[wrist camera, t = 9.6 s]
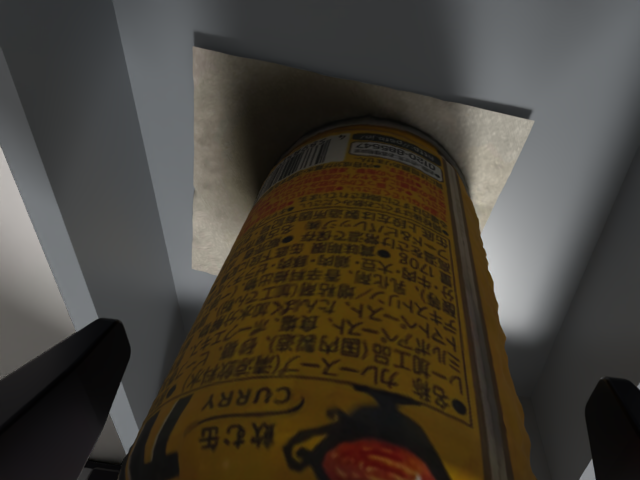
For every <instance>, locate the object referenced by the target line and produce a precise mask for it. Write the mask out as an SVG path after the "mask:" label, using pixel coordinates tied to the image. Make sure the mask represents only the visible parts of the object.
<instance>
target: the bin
mask: <svg viewBox="0 0 640 480" xmlns="http://www.w3.org/2000/svg"><path fill="white" fill-rule="evenodd" d="M193 46H194V47H198V48H203V49H207V50H212V51H216V52H221V53H224V54H228V55H232V56H237V57H243V58H249V59H256V60H261V61H266V62H273V63H276V64H280V65H284V66H288V67H292V68H297V69H301V70H306V71H311V72H315V73H318V74H321V75H324V76H329V77H334V78H340V79H346V80H354V81H359V82H362V83H366V84H372V85H377V86H383V87H388V88H392V89H395V90H398V91H406V92H411V93H415V94H420V95H424V96H429V97H433V98H436V99H439V100H443V101H448V102H455V103H460V104H464V105H469V106H473V107H477V108H481V109H485V110H489V111H494V112H498V113H502V114H506V115H510V116H515V117H519V118H524V119H528V120H533V121H535V122H534V124H533V126H532V128H531V131H530V133H529V135H528V137H527V140H526V142H525V144H524V146H523V148H522V150H521V152H520V155H519V157H518V159H517V161H516V163H515V165H514V167H513V169H512V172H511V174H510V176H509V177H508V179H507V181H506V184H505V185H504V187H503V189H502V191H501V193H500V194H499V196H498V199H497V201H496V203H495V205H494V207H493V209H492V211H491V213H490V216H489V218H488V220H487V222H486V224H485V226H484V228H483V231H482V233H481V239H482V241H483V248H484V249H485V251H486V254H487V256H486V258H487V260H488V263H489V265H488V271H489V272H490V274H491V276H492V279H493V281H494V293H495V296H496V300H497V302H498V305H499V307H498V315H499V322H500V325H501V327H502V329H503V331H504V334H505V336H506V341H505V351H506V354H507V356H508V367H509V371H510V375H511V378H512V380H513V384H514V387H515V391H516V394H517V396H518V398H519V401H520V403H521V405H522V408H523V412H524V427H525V429H526V431H527V433H528V435H529V438H530V442H531V449H530V466H531V469H532V472H533V474H534V475H535V477H536V478H537V480H596V479H595V473H594V467H593V461H592V455H591V450H590V444H589V438H588V432H587V427H586V421H585V406H586V403H587V401H588V399H589V397H590V395H591V394H592V392H593V390H594V388H595V386H596V384H597V382H598V381H599V379H600V378H602V377H604V376H608V377H617V378H624V379H627V380H629V381H631V382H632V383H633V384H634V385H635V386H637V387H638V388H639V389H640V0H0V146H1V148H2V151H3V153H4V155H5V158H6V160H7V163H8V165H9V168H10V170H11V173H12V175H13V178H14V180H15V183H16V185H17V187H18V190H19V192H20V195H21V197H22V200H23V202H24V205H25V207H26V210H27V212H28V214H29V217H30V219H31V222H32V224H33V227H34V229H35V232H36V234H37V237H38V239H39V242H40V244H41V246H42V249H43V251H44V254H45V256H46V259H47V261H48V264H49V266H50V269H51V271H52V273H53V276H54V278H55V281H56V283H57V286H58V288H59V291H60V293H61V296H62V298H63V301H64V303H65V305H66V308H67V310H68V313H69V315H70V318H71V320H72V323H73V325H74V328H75V330H76V332H77V331H79V330H80V329H82V328H83V327H85V326H87V325H88V324H90V323H91V322H93V321H95V320H96V319H98V318H102V317H105V318H113V319H119V320H121V321H122V322H123V324H124V327H125V330H126V334H127V337H128V340H129V343H130V346H131V356H130V360H129V362H128V365H127V368H126V370H125V373H124V375H123V378H122V381H121V383H120V386H119V389H118V391H117V394H116V396H115V399H114V402H113V404H112V407H111V410H110V412H109V414H110V416H111V419H112V421H113V423H114V426H115V428H116V431H117V433H118V436H119V438H120V441H121V443H122V446H123V448H124V450H125V453H126V455H127V454H128V451H129V448H130V447H131V446H132V445H133V443H134V441H135V439H136V437H137V434H138V432H139V430H140V428H141V426H142V424H143V422H144V420H145V418H146V417H147V415H148V412H149V410H150V408H151V406H152V403H153V401H154V400H155V398H156V397H157V395H158V393H159V390H160V389H161V387H162V385H163V383H164V380H165V379H166V377H167V375H168V373H169V371H170V369H171V367H172V365H173V364H174V362H175V359H176V358H177V356H178V354H179V351H180V349H181V346H182V345H183V343H184V341H185V339H186V337H187V335H188V333H189V332H190V330H191V328H192V326H193V323H194V322H195V320H196V318H197V316H198V314H199V312H200V310H201V308H202V306H203V303H204V302H205V300H206V298H207V296H208V294H209V292H210V290H211V287H212V285H213V284H214V282H215V280H216V278H217V275H212V274H209V273H207V272H203V271H198V270H194V269H192V241H193V222H192V219H193V197H194V191H195V188H194V185H193V177H194V80H193Z"/></svg>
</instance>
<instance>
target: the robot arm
mask: <svg viewBox="0 0 640 480" xmlns="http://www.w3.org/2000/svg"><path fill="white" fill-rule="evenodd" d="M130 356H131V346H130V343H129V340H128V337H127V334H126V330H125V327H124V324H123V322H122V321H121V320H119V319H113V318H105V317H102V318H98V319H96V320H95V321H93V322H91V323H90V324H88V325H87V326H85V327H83V328H82V329H80V330H79V331H77V332H76V333H74V334H72V335H71V336H69V337H68V338H66V339H65V340H63V341H61V342H60V343H58V344H57V345H55V346H54V347H52V348H50V349H49V350H47V351H46V352H44V353H42V354H41V355H39V356H38V357H36V358H35V359H33V360H31V361H30V362H28V363H27V364H25V365H24V366H22V367H20V368H19V369H17V370H16V371H14V372H13V373H11V374H9V375H8V376H6V377H5V378H3V379H1V380H0V480H118V475H119V473H120V470H121V466H118V465H112V464H105V463H99V462H92V461H87V460H88V458H89V456H90V454H91V452H92V450H93V448H94V446H95V444H96V442H97V440H98V438H99V436H100V434H101V432H102V430H103V427H104V425H105V422H106V420H107V417H108V415H109V412H110V410H111V407H112V404H113V402H114V399H115V396H116V394H117V391H118V389H119V386H120V383H121V381H122V378H123V375H124V373H125V370H126V368H127V365H128V362H129V360H130ZM585 421H586V427H587V432H588V438H589V444H590V450H591V455H592V461H593V467H594V473H595V479H596V480H640V389H639V388H638V387H637V386H635V385H634V384H633V383H632V382H631V381H629V380H627V379H624V378H617V377H608V376H604V377H602V378H600V379H599V381H598V382H597V384H596V386H595V388H594V390H593V392H592V394H591V395H590V397H589V399H588V401H587V403H586V406H585Z"/></svg>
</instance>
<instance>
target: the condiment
mask: <svg viewBox="0 0 640 480" xmlns="http://www.w3.org/2000/svg"><path fill="white" fill-rule="evenodd" d="M193 80H194V177H193V185H194V188H195V191H194V197H193V219H192V222H193V241H192V269H194V270H198V271H203V272H207V273H209V274H212V275H217V278H216V280H215V282H214V284H213V285H212V287H211V290H210V292H209V294H208V296H207V298H206V300H205V302H204V303H203V306H202V308H201V310H200V312H199V314H198V316H197V318H196V320H195V322H194V323H193V326H192V328H191V330H190V332H189V333H188V335H187V337H186V339H185V341H184V343H183V345H182V346H181V349H180V351H179V354H178V356H177V358H176V359H175V362H174V364H173V365H172V367H171V369H170V371H169V373H168V375H167V377H166V379H165V380H164V383H163V385H162V387H161V389H160V390H159V393H158V395H157V397H156V398H155V400H154V401H153V403H152V406H151V408H150V410H149V412H148V415H147V417H146V418H145V420H144V422H143V424H142V426H141V428H140V430H139V432H138V434H137V437H136V439H135V441H134V443H133V445H132V446H131V447H130V448H129V451H128V454H127V455H126V457H125V458H124V460H123V462H122V465H121V470H120V473H119V475H118V480H537V478H536V477H535V475H534V474H533V472H532V469H531V466H530V449H531V442H530V438H529V435H528V433H527V431H526V429H525V427H524V412H523V408H522V405H521V403H520V401H519V398H518V396H517V394H516V391H515V387H514V384H513V380H512V378H511V375H510V371H509V367H508V356H507V354H506V351H505V341H506V336H505V334H504V331H503V329H502V327H501V325H500V322H499V315H498V307H499V305H498V302H497V300H496V296H495V293H494V281H493V279H492V276H491V274H490V272H489V271H488V265H489V263H488V260H487V258H486V256H487V254H486V251H485V249H484V248H483V241H482V239H481V233H482V231H483V228H484V226H485V224H486V222H487V220H488V218H489V216H490V213H491V211H492V209H493V207H494V205H495V203H496V201H497V199H498V196H499V194H500V193H501V191H502V189H503V187H504V185H505V184H506V181H507V179H508V177H509V176H510V174H511V172H512V169H513V167H514V165H515V163H516V161H517V159H518V157H519V155H520V152H521V150H522V148H523V146H524V144H525V142H526V140H527V137H528V135H529V133H530V131H531V128H532V126H533V124H534V122H535V121H533V120H528V119H524V118H519V117H515V116H510V115H506V114H502V113H498V112H494V111H489V110H485V109H481V108H477V107H473V106H469V105H464V104H460V103H455V102H448V101H443V100H439V99H436V98H433V97H429V96H424V95H420V94H415V93H411V92H406V91H398V90H395V89H392V88H388V87H383V86H377V85H372V84H366V83H362V82H359V81H354V80H346V79H340V78H334V77H329V76H324V75H321V74H318V73H315V72H311V71H306V70H301V69H297V68H292V67H288V66H284V65H280V64H276V63H273V62H266V61H261V60H256V59H249V58H243V57H237V56H232V55H228V54H224V53H221V52H216V51H212V50H207V49H203V48H198V47H194V46H193Z"/></svg>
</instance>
